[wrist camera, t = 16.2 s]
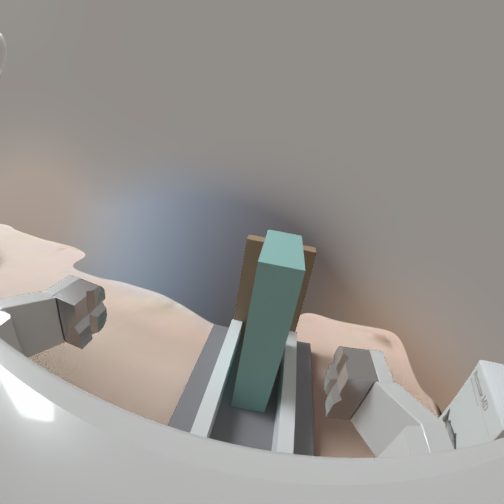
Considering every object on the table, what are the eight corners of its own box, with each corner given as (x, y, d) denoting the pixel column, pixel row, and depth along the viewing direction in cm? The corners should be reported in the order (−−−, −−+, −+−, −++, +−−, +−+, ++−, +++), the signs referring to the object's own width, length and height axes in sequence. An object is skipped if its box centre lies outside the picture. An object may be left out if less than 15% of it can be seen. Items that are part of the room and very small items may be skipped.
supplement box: (401, 455, 18) (478, 355, 14) (458, 461, 16) (535, 368, 12) (394, 518, 12) (503, 428, 8) (459, 518, 10) (563, 428, 5)
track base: (161, 449, 18) (147, 322, 13) (213, 331, 35) (225, 230, 30) (308, 478, 17) (384, 367, 12) (307, 350, 34) (337, 252, 29)
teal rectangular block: (229, 405, 22) (256, 261, 18) (243, 352, 30) (267, 229, 25) (265, 412, 22) (307, 271, 18) (272, 358, 30) (302, 236, 25)
